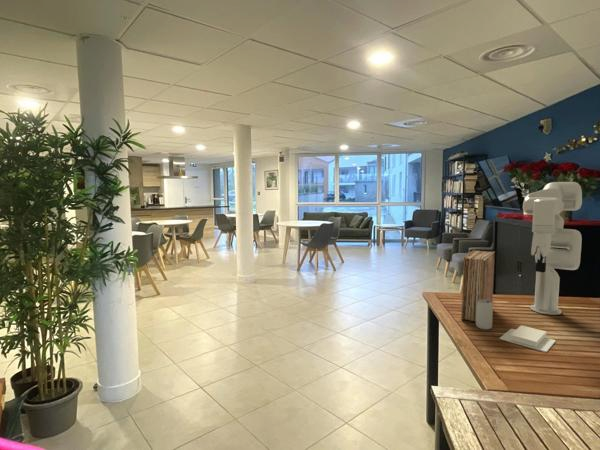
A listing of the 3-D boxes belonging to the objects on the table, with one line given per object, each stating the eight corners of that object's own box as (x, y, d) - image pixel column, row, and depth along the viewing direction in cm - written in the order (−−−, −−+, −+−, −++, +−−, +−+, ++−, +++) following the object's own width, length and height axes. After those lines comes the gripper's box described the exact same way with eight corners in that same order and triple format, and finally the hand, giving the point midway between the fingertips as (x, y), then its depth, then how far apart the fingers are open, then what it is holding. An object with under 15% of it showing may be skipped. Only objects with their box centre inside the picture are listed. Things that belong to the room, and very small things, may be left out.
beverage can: (494, 330, 148) (495, 303, 147) (477, 329, 150) (479, 302, 148) (489, 325, 154) (490, 299, 153) (473, 324, 156) (474, 298, 155)
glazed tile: (521, 325, 147) (510, 334, 138) (546, 331, 141) (536, 341, 131) (520, 330, 148) (509, 340, 138) (545, 336, 141) (536, 347, 132)
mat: (511, 329, 150) (511, 328, 150) (555, 341, 138) (555, 340, 138) (499, 339, 140) (499, 338, 140) (546, 352, 128) (546, 351, 128)
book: (482, 324, 155) (486, 259, 152) (460, 320, 161) (463, 257, 158) (492, 308, 175) (495, 250, 172) (472, 305, 181) (474, 249, 178)
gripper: (537, 225, 151) (535, 266, 153) (527, 230, 141) (524, 273, 143) (558, 227, 145) (555, 269, 148) (549, 232, 135) (546, 277, 138)
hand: (540, 271), depth 146 cm, fingers closed
